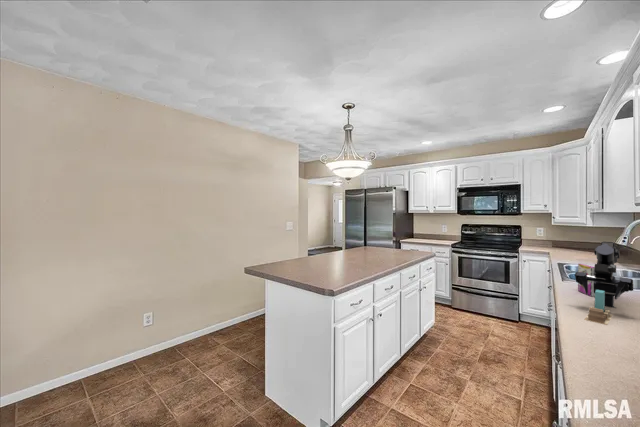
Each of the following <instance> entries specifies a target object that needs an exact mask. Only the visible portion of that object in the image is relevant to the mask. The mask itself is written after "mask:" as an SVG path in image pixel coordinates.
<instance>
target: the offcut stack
mask: <svg viewBox="0 0 640 427" xmlns="http://www.w3.org/2000/svg"><path fill="white" fill-rule="evenodd" d="M588 309H589V310H588V314H587V315H588V320H591V321H596V322H600V323H604V322H605V321H606V315H604V312H603V310H602V309H597V308H592V306H590V307H589V308H588ZM591 321H590V322H591ZM600 323H599V324H600Z"/></svg>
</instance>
